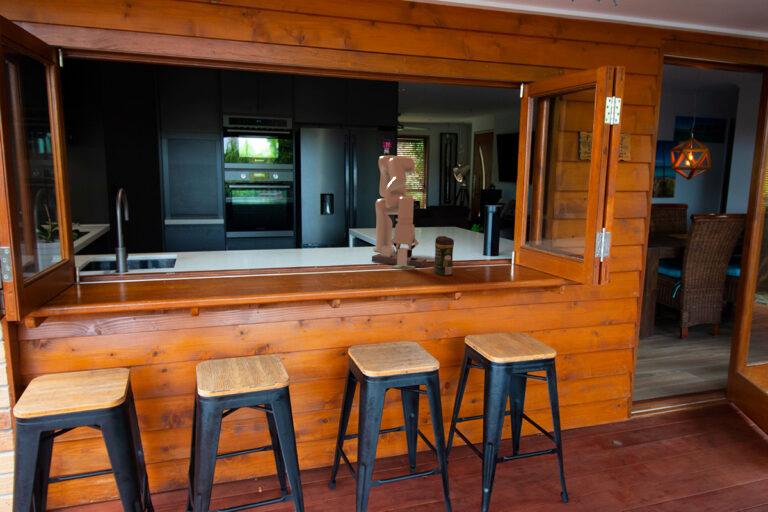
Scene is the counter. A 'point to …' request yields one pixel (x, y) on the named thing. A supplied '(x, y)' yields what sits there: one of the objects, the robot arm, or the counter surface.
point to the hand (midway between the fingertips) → (404, 256)
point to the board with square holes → (393, 260)
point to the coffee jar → (443, 255)
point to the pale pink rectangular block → (403, 256)
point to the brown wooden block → (387, 251)
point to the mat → (403, 267)
